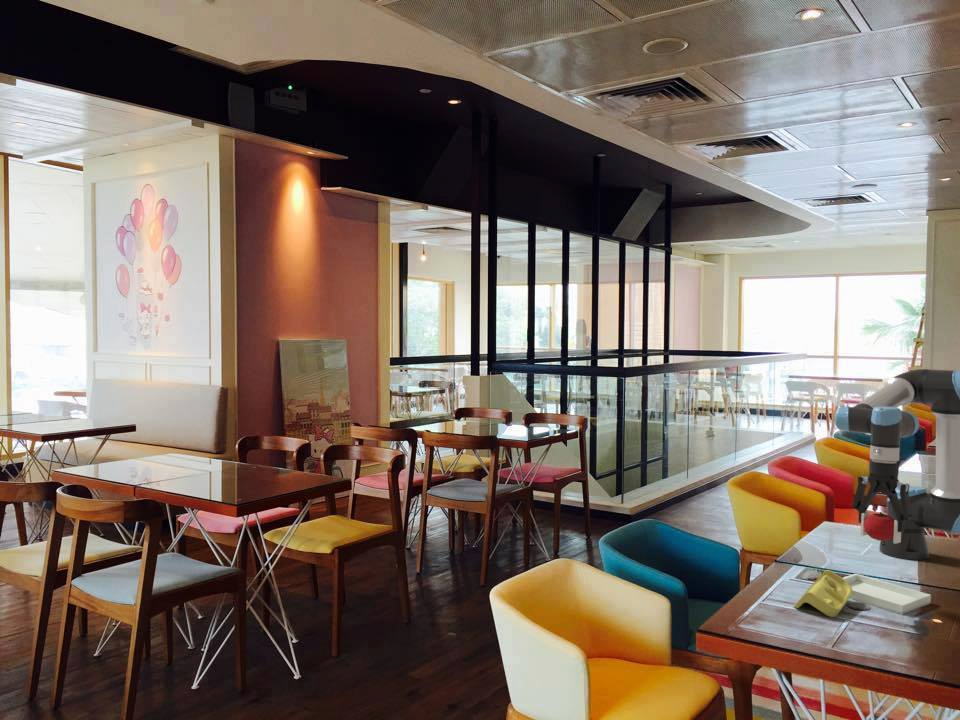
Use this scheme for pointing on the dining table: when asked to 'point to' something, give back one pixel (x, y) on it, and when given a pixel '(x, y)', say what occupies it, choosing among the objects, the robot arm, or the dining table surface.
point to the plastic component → (827, 594)
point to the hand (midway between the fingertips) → (880, 538)
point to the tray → (886, 594)
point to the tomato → (879, 526)
